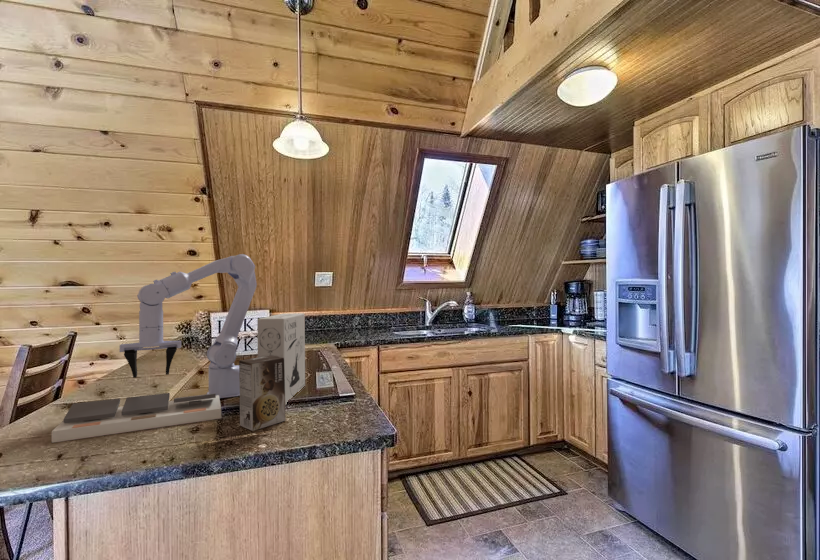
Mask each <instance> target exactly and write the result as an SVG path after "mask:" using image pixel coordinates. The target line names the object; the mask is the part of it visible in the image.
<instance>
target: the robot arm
mask: <svg viewBox="0 0 820 560" xmlns="http://www.w3.org/2000/svg"><path fill="white" fill-rule="evenodd" d="M255 269H256V265H255V264H254V262H253V260H252V259H251V257H250V256H248V255H247V254H245V253H241V254H240V253H239V254H237V255H230V256H228V257H224V258H220V259H217V260H214V261H212V262H209V263H207V264H205V265H203V266H201V267H198V268H195V269H194V270H192V271H190V272H187V273H186V272H184V271H178V272H176V271H172V272H170V275H168V276H165V277H163V278H161V279H159V280H158V279H154V280H153V281H152V282H153V283H149V284H147V285H143V286H142V287H141V288H140V289H139V290H138V293H137V299H138V301H139V312H138V314H139V315H138V321H139V323H138V325H139V326H138V327H139V328H138V331H139V332H138V333H139V334H138V336H139V338H138V339H139V340H138V342H133V343H122V344H119V353H123V356H124V358H125V359H126V361H127V364H128V365H129V367H130V371H131V373H132V378H134V379H135V378H137V377H138V367H137V366H138V363H137V359H138V358H137V357H138V351H149V350H164V349H166V350H165V360H166V362H165V363H166V364H165V375H166V376H168V375H170V369H171V364H172V361H173V360H174V359H173V358H174V357H175V354H176V352H177V350H178V349H181V348H182V340H164V310H163V302H164V300H165V299H170V298H172V297H175V296H177V295H180V294H181V293H183V292H185V291H188V290H190V289H191V286H192V284H193V283H195V282H198V281H200V280H203V279H206V278H207V277H210V276H213V275H215V274H218V273H220V274H226V273H227V274H228V275H229V276H230V277H231V278H233V281H234V282H235V283H236V286H237V289H236V292H235V295H234V297H233V300H232V302H231V305H230V308H229V310H228V313H227V315H226V318H225V321H224V322H223V324H222V325H223V326H222V328H221V331H220V332H219V334H218V335H217V337H216V338H214V339H215V340H214V342H213V343H212V345H210V347H208V349H207V351H206V357H207V360H208V361H209V362H210V363H209V365H208V391H207V392H206V394H214V393H215V394H216V395H219V398H220V399H224V398H232V397H238V396H239V397H240V379H239V364H238V365H235V361H236V360H237V349H238V336H239V334H240V332H241V328H242V326H243V324H244V321H245V318H246V316H247V313H248V310H249V308H250V305H251V304H252V303H251V302H252V300H253V297H254V294H255V292H256V290H257V287H258V286H257V284H258V283H257V278H256V277H257V276H256V271H255Z"/></svg>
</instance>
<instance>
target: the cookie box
mask: <svg viewBox="0 0 820 560" xmlns="http://www.w3.org/2000/svg"><path fill="white" fill-rule="evenodd" d="M238 361H239V362H238V363H239V364H238V365H239V379H240V396H239V426H240V427H243V428H245V429H247V430H250V431H252V432H254V431H257V430H260V429H264V428H266V427H270V426H273V425H277V424H279V423H283V422H285V421H286V418H287V417H286V405H285V370H284V358H282V357H278V356H274V355H269V356H263V357H258V356H257V357H252V358H247V359H240V360H238Z"/></svg>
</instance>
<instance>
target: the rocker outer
mask: <svg viewBox="0 0 820 560" xmlns="http://www.w3.org/2000/svg"><path fill="white" fill-rule="evenodd" d="M120 404H121V398H111V399H110V398H109V399H103V400H93V401H84V402H75V403H72V404H71V406H70V408H69V409H68V410H67V412H66V414H65V416H64V417H63V419H62V421H63V422H64V423H70V422H78V421H86V420H94V419H102V418H109V417H115V414H116V412H117V409H118V407H120Z"/></svg>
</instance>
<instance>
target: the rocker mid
mask: <svg viewBox="0 0 820 560" xmlns="http://www.w3.org/2000/svg"><path fill="white" fill-rule="evenodd" d="M170 394H171V393H170V392H165V393H156V394H147V395H138V396H130V397H129V396H128V397H126V398H125V402H124V404H123V406H122V407H123V409H122V412H121V414H122V416H124V415H132V414H140V413H147V412H155V411H163V410H168V404H169V401H170Z"/></svg>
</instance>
